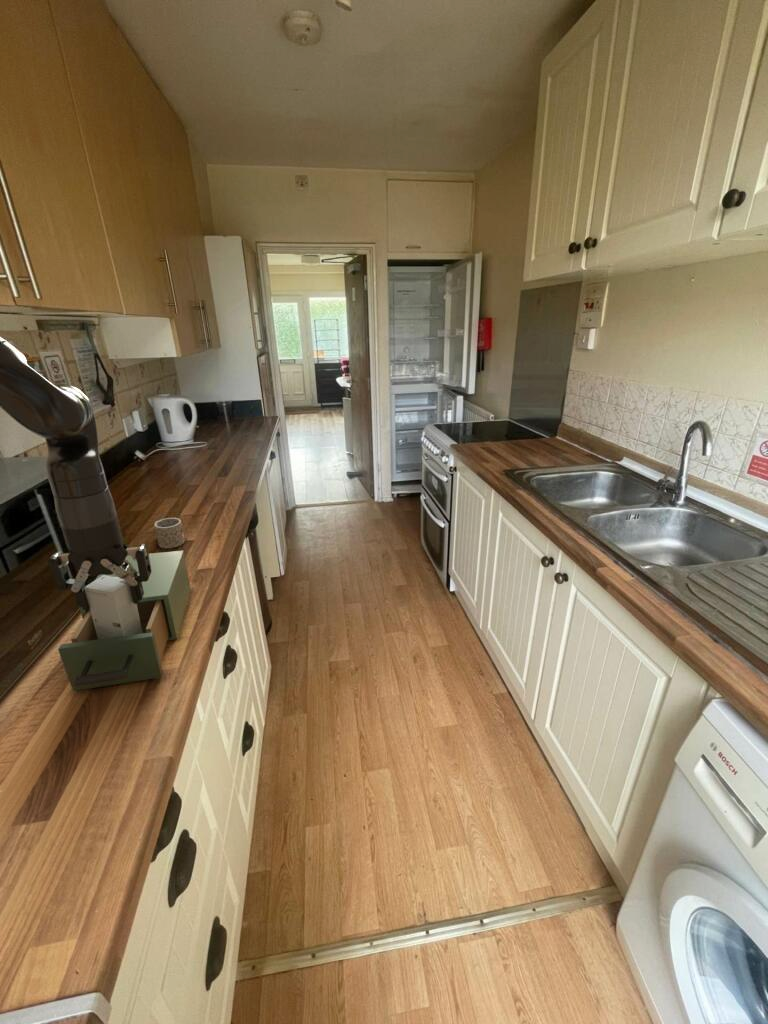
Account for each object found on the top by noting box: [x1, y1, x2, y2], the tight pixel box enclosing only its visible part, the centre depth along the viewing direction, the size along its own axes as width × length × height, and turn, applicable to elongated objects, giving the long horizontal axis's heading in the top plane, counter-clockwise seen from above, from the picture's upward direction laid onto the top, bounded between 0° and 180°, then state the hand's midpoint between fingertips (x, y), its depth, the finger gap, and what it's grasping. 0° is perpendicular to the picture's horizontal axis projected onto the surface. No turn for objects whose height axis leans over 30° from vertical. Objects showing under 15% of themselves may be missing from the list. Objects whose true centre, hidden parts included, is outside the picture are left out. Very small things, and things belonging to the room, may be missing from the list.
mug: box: [154, 517, 186, 549], centre depth 121 cm, size 10×7×7 cm, turn 57°
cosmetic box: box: [84, 575, 143, 639], centre depth 74 cm, size 6×4×12 cm
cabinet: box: [78, 550, 192, 641], centre depth 89 cm, size 18×15×11 cm
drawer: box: [57, 599, 170, 692], centre depth 76 cm, size 22×14×9 cm, turn 14°
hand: (113, 603), depth 74 cm, fingers closed on cosmetic box, 7 cm apart
